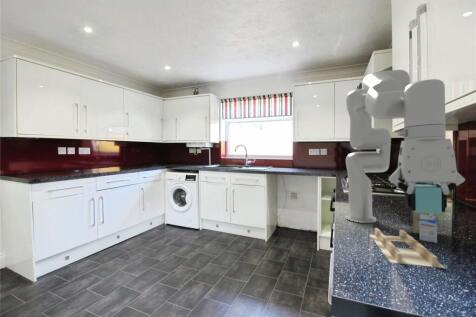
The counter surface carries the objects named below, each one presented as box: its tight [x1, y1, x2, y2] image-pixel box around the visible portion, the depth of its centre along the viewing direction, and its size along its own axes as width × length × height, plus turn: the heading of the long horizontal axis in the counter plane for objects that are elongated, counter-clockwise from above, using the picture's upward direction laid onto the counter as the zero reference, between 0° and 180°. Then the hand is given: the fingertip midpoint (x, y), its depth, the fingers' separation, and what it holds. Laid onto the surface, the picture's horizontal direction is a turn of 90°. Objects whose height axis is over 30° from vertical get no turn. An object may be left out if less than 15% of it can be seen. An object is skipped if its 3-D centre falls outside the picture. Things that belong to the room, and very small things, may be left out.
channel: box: [369, 227, 446, 269], centre depth 69 cm, size 22×12×4 cm, turn 162°
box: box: [412, 211, 435, 234], centre depth 83 cm, size 5×4×11 cm
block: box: [413, 184, 443, 215], centre depth 54 cm, size 6×5×5 cm
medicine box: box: [419, 214, 438, 244], centre depth 76 cm, size 8×4×9 cm, turn 141°
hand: (425, 209), depth 53 cm, fingers closed on block, 5 cm apart
